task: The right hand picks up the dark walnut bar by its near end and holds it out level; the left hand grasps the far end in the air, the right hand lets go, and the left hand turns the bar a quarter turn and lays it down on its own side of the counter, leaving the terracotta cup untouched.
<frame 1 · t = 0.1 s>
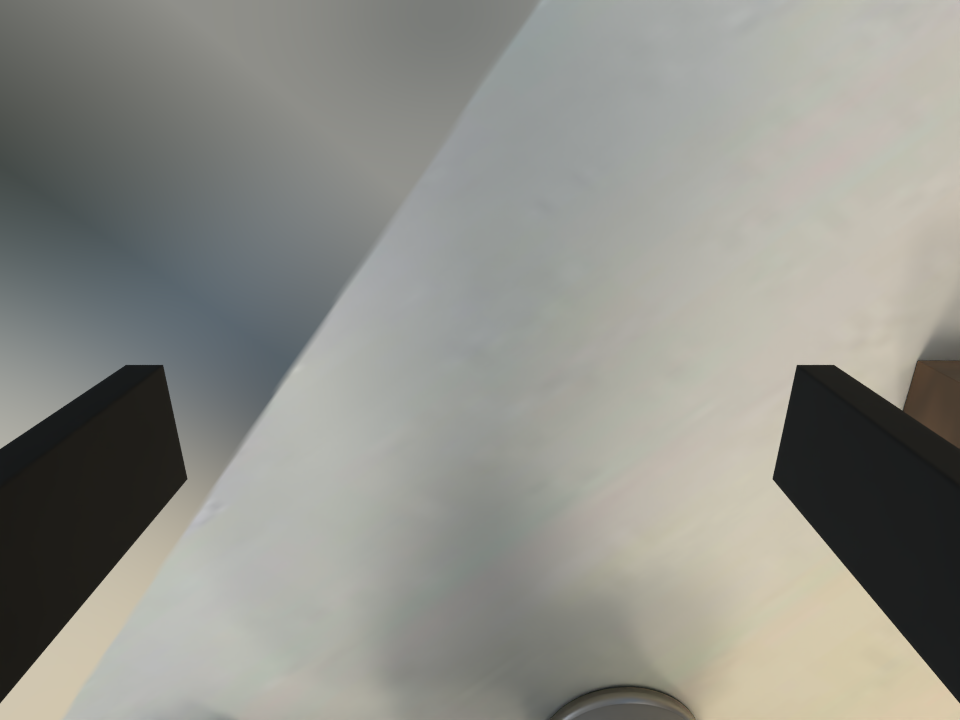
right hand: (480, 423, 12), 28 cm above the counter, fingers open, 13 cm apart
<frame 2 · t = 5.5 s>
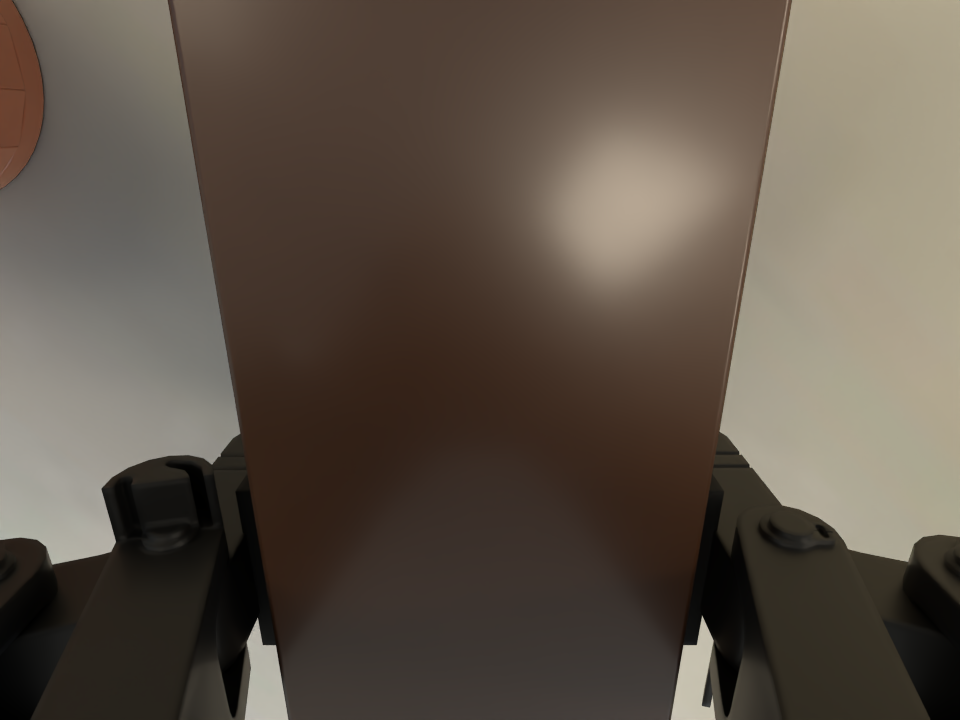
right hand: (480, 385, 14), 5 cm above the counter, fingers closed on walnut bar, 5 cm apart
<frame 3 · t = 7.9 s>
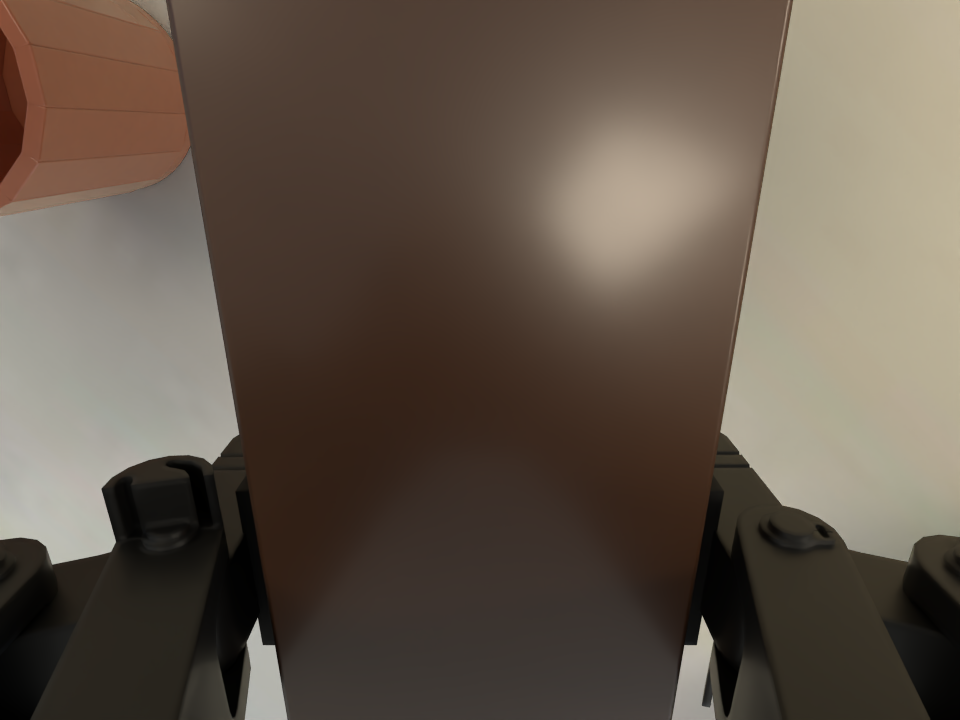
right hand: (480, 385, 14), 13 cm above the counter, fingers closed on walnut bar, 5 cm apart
terracotta cup: (103, 94, 23), on the counter
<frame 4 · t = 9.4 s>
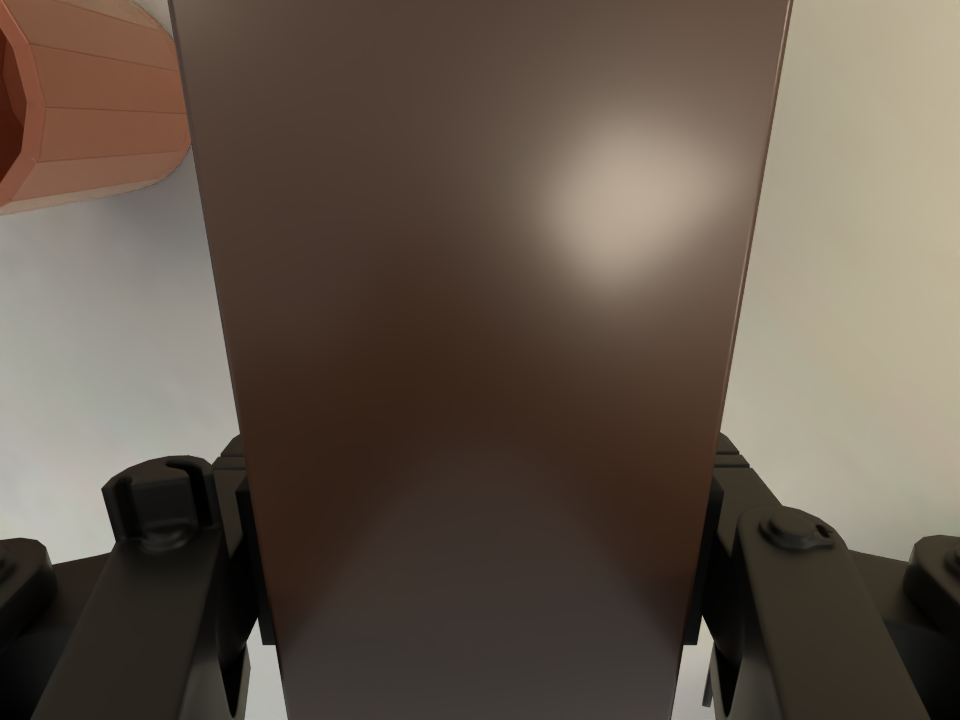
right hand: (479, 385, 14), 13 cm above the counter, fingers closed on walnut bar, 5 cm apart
terracotta cup: (103, 94, 23), on the counter
when the right hand's fingers open (13 cm above the counter, at t = 10.5 s): walnut bar stays where it is, held by the left hand.
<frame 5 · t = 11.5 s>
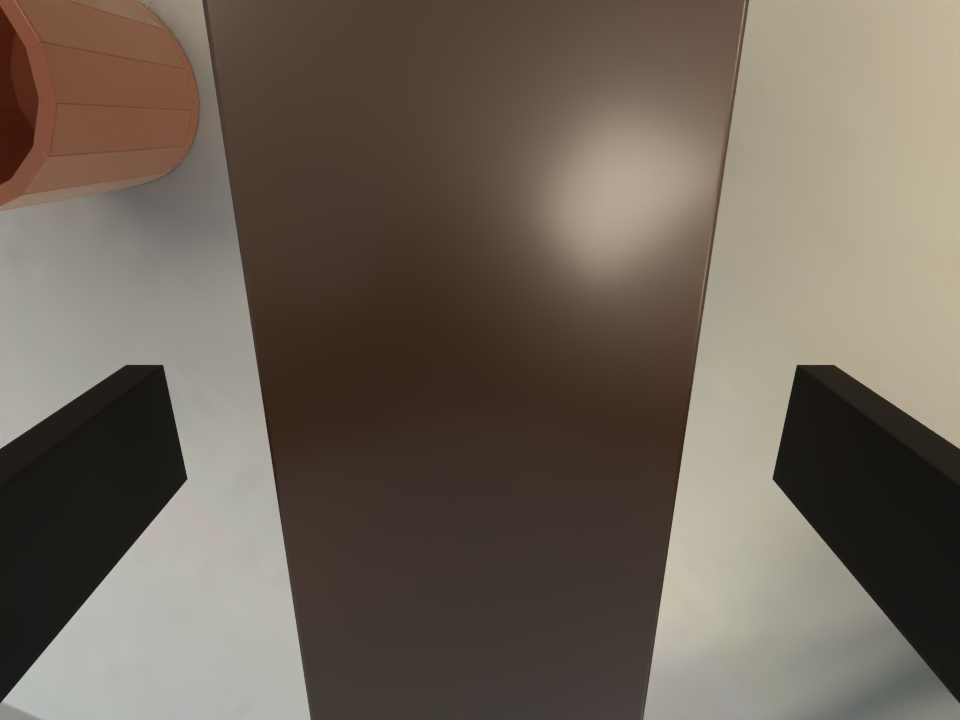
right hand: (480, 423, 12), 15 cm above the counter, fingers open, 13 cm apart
terracotta cup: (107, 91, 24), on the counter
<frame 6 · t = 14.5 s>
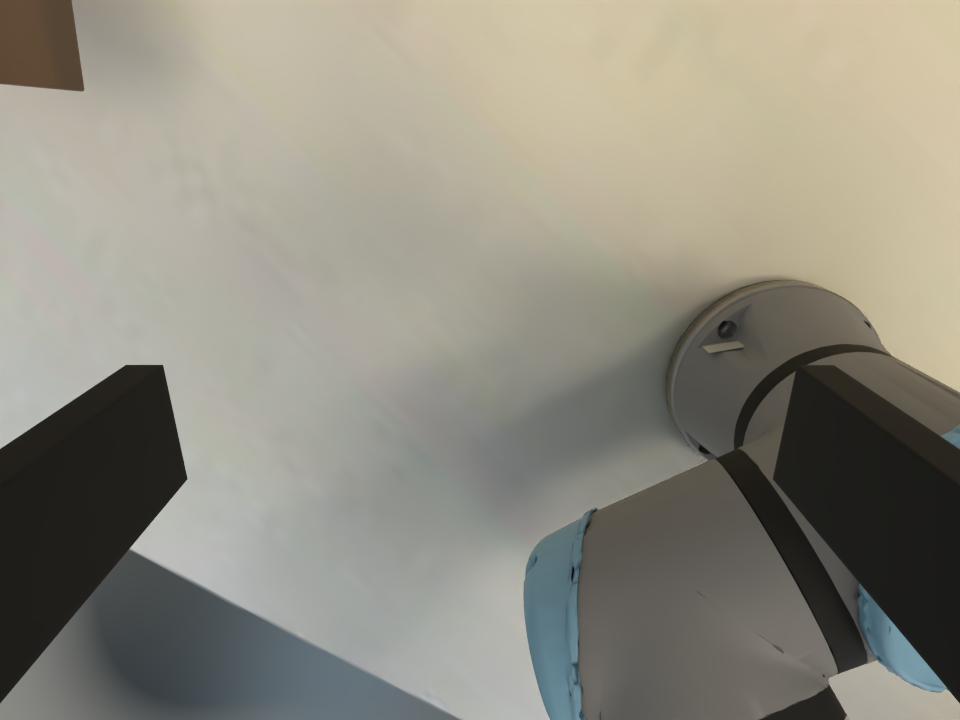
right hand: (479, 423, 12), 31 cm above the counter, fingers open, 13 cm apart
when the left hand's fingers open (6 cm above the counter, at t = 19.8 s): walnut bar stays where it is, on the counter.
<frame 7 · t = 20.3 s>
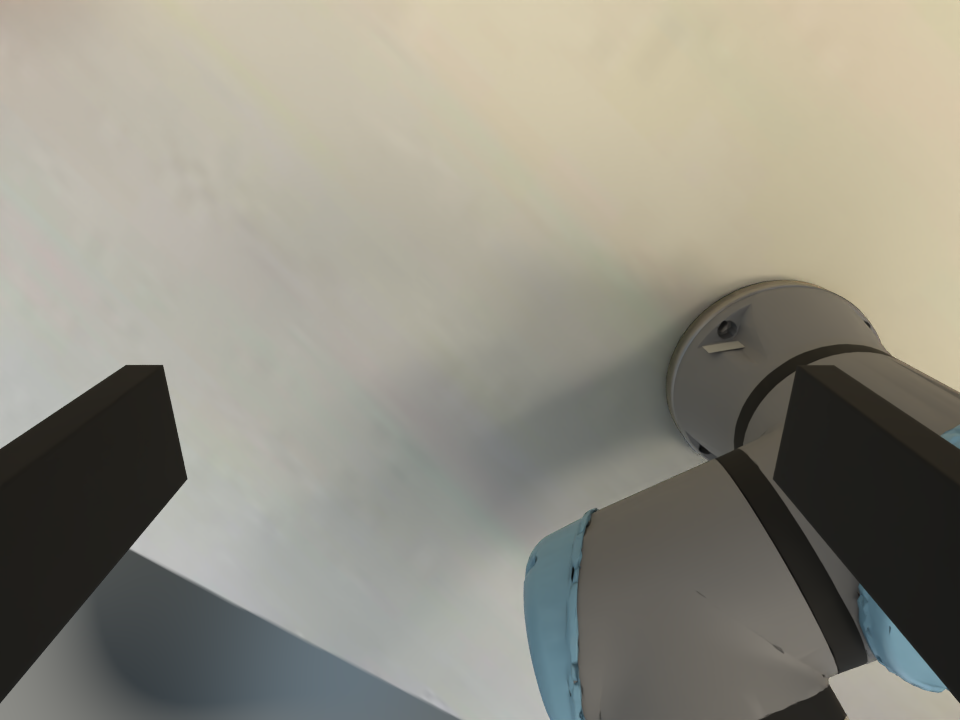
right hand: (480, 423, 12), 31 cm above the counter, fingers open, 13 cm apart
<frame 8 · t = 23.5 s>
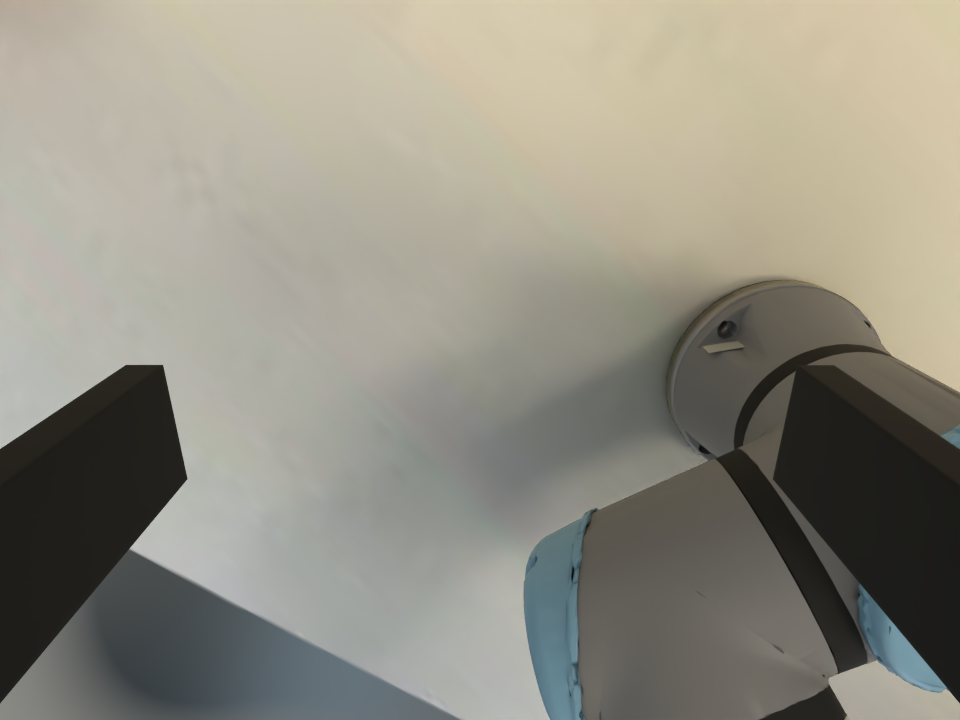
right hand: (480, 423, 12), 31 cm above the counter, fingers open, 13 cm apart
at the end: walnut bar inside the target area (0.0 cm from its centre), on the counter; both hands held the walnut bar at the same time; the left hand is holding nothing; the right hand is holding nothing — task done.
